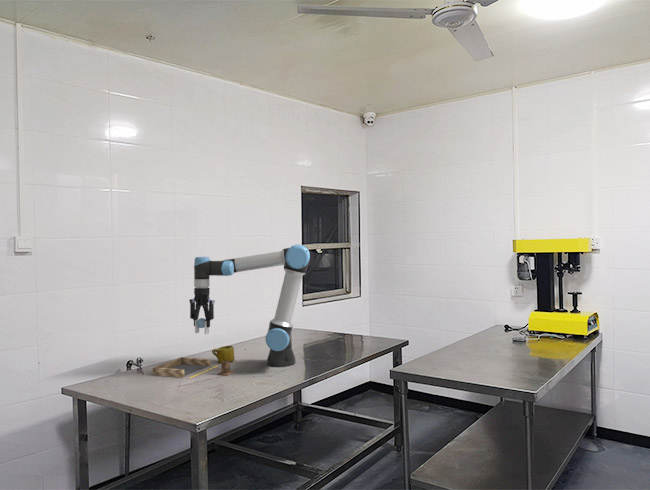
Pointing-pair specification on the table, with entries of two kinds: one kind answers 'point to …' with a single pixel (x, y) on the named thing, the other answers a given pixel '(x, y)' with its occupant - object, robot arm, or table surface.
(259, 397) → the table surface
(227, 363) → the tee
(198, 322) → the ball
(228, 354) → the mug
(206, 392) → the table surface
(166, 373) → the wooden u-shaped frame
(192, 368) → the mat
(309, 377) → the table surface
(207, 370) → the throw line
